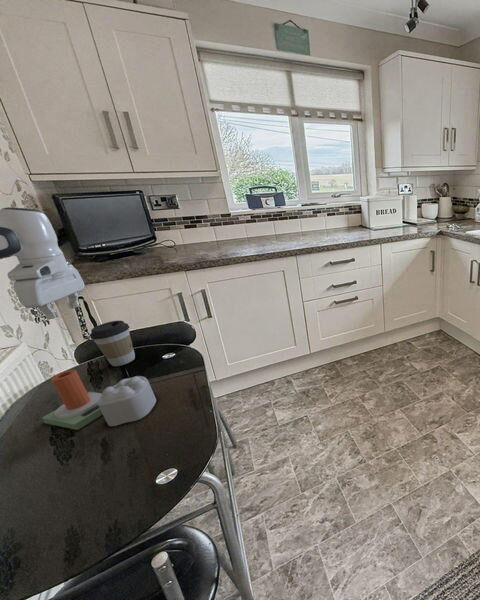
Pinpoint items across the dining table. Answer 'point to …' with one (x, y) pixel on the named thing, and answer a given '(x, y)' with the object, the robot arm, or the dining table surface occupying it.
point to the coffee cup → (114, 342)
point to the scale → (75, 414)
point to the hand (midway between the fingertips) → (64, 312)
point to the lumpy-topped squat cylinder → (127, 401)
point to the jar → (70, 389)
